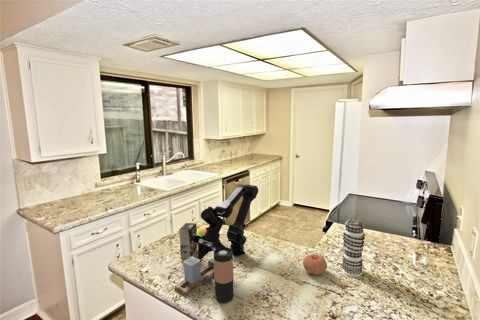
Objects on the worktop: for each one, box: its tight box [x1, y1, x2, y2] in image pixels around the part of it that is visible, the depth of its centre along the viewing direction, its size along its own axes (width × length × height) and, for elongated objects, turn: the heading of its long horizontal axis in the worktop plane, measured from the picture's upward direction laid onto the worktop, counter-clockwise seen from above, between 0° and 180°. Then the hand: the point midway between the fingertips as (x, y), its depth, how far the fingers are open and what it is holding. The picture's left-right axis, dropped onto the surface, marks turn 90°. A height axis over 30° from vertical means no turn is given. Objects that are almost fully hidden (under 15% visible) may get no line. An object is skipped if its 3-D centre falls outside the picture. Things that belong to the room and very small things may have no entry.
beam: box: [174, 257, 214, 296], centre depth 119 cm, size 24×9×4 cm, turn 144°
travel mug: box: [213, 246, 234, 304], centre depth 105 cm, size 8×8×20 cm
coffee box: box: [179, 222, 198, 260], centre depth 140 cm, size 9×6×16 cm
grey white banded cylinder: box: [341, 218, 366, 278], centre depth 121 cm, size 9×9×25 cm
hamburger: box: [197, 224, 209, 239], centre depth 159 cm, size 12×12×9 cm
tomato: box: [302, 253, 328, 276], centre depth 123 cm, size 11×11×8 cm
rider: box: [183, 256, 202, 285], centre depth 116 cm, size 5×5×11 cm
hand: (198, 260), depth 118 cm, fingers closed
